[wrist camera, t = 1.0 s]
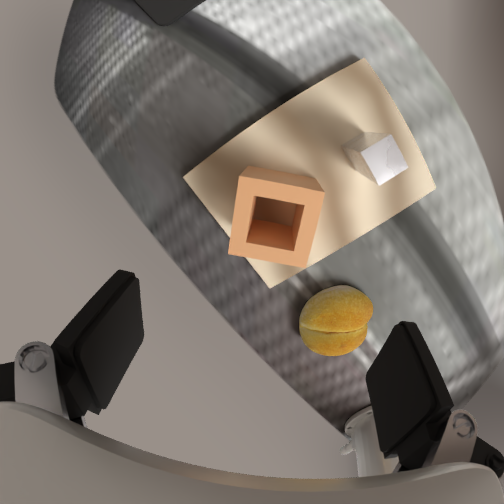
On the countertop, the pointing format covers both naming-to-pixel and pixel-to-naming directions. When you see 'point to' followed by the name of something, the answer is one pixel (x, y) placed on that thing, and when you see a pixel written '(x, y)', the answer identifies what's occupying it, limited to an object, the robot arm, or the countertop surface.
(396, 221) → the countertop surface
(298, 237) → the square hollow tube
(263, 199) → the base board
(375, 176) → the square shaft
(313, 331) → the bread roll
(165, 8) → the phone
